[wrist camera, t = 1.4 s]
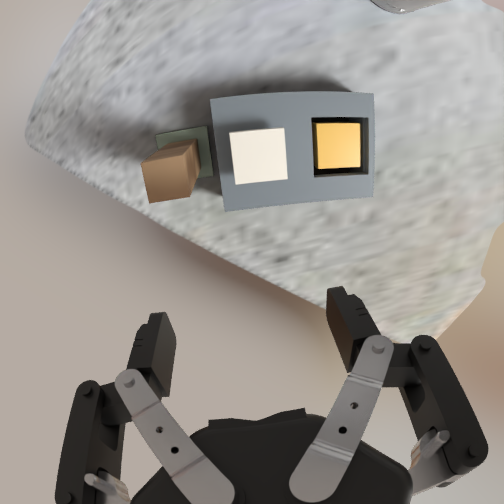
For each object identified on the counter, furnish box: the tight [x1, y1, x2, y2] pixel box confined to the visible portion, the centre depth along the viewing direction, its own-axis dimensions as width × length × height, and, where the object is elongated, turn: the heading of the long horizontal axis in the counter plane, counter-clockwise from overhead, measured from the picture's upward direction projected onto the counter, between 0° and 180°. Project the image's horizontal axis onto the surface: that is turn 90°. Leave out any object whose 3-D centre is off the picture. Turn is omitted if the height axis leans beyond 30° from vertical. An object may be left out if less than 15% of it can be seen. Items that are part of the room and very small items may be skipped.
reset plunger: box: [311, 122, 360, 169], centre depth 29 cm, size 5×5×2 cm
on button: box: [229, 127, 288, 185], centre depth 27 cm, size 5×5×4 cm
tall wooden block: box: [141, 139, 201, 203], centre depth 27 cm, size 4×4×11 cm
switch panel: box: [210, 91, 375, 212], centre depth 30 cm, size 12×17×5 cm
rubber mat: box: [156, 126, 214, 178], centre depth 32 cm, size 6×6×1 cm
